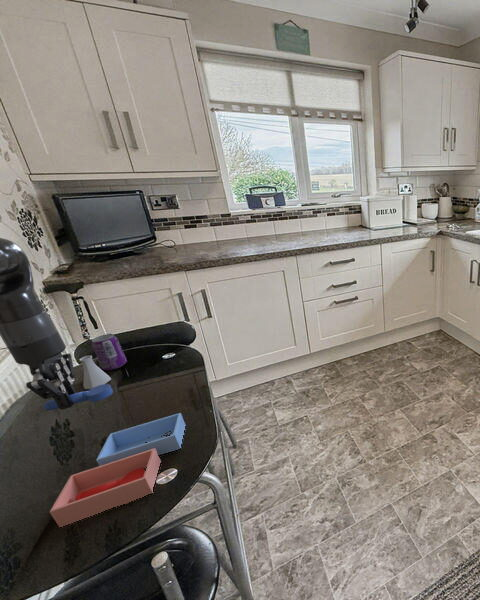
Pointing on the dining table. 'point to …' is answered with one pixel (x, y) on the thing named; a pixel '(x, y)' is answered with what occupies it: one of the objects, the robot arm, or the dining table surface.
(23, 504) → the dining table surface
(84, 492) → the red spoon
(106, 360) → the beverage can
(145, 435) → the blue bin
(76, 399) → the blue spoon
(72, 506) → the rose bin
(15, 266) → the robot arm
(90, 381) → the flask
